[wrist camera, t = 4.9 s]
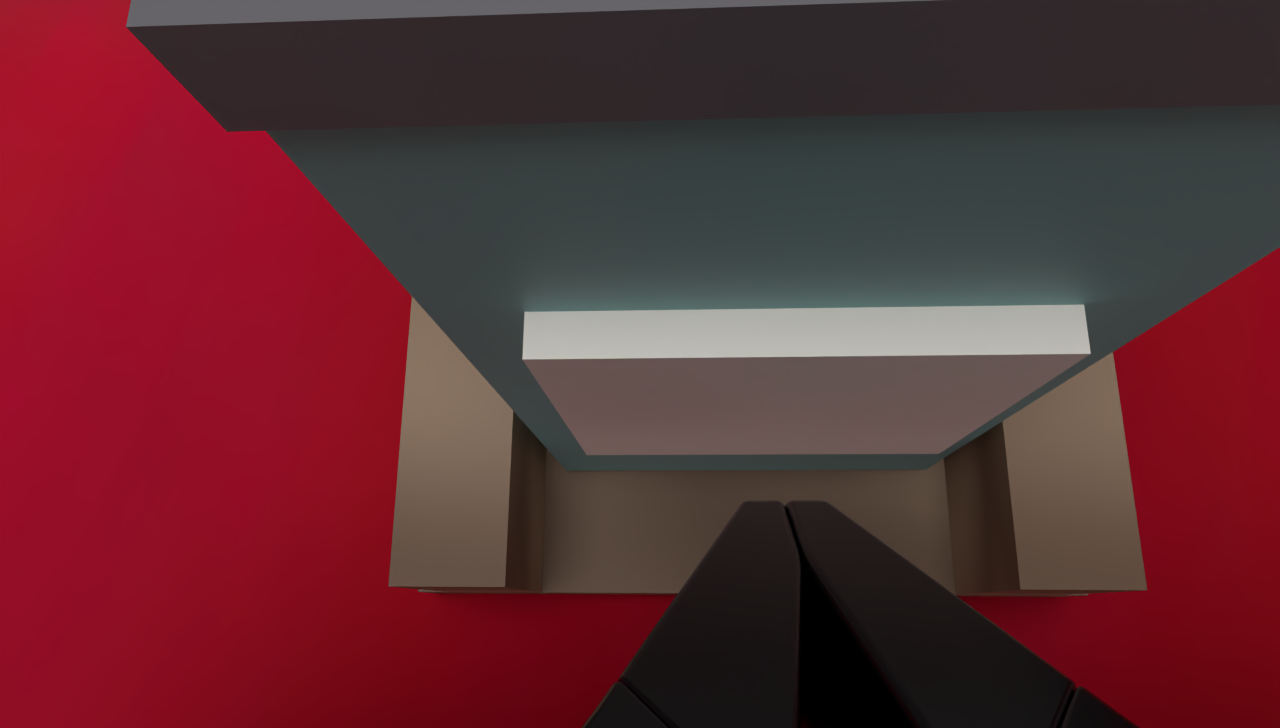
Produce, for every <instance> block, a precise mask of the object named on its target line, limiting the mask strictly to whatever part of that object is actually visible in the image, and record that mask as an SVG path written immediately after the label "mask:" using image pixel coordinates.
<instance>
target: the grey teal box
mask: <svg viewBox="0 0 1280 728" xmlns="http://www.w3.org/2000/svg"><path fill="white" fill-rule="evenodd" d="M126 27H127V28H128V29H129V30H130V31H131V32H132V33H133V34H134V35H135V37H136V38H137V39H138V40H139V41H140V42H141V43H142V44H143V45H144V46H145V47H146V48H147V49H148V50H149V51H150V52H151V53H152V54H153V55H154V56H155V57H156V58H157V59H158V60H159V61H160V62H161V63H162V64H163V66H164V67H165V68H166V69H167V70H168V71H169V72H170V73H171V74H172V75H173V76H174V77H175V78H176V79H177V80H178V81H179V82H180V83H181V84H182V85H183V86H184V87H185V88H186V89H187V90H188V91H189V92H190V93H191V95H192V96H193V97H194V98H195V99H196V100H197V101H198V102H199V103H200V104H201V105H202V106H203V107H204V108H205V109H206V110H207V111H208V112H209V113H210V114H211V115H212V116H213V117H214V118H215V119H216V120H217V121H218V122H219V124H220V125H221V126H222V127H223V128H224V129H225V130H226V131H266V132H267V133H268V134H269V135H270V136H271V137H272V138H273V140H274V141H275V142H276V143H277V144H278V145H279V146H280V147H281V149H282V150H283V151H284V152H285V153H286V154H287V155H288V157H289V158H290V159H291V160H292V161H293V162H294V163H295V164H296V166H297V167H298V168H299V169H300V170H301V171H302V172H303V173H304V175H305V176H306V177H307V178H308V179H309V180H310V181H311V183H312V184H313V185H314V186H315V187H316V188H317V189H318V190H319V192H320V193H321V194H322V195H323V196H324V197H325V198H326V199H327V201H328V202H329V203H330V204H331V205H332V206H333V207H334V209H335V210H336V211H337V212H338V213H339V214H340V215H341V216H342V218H343V219H344V220H345V221H346V222H347V223H348V224H349V225H350V227H351V228H352V229H353V230H354V231H355V232H356V233H357V235H358V236H359V237H360V238H361V239H362V240H363V241H364V242H365V244H366V245H367V246H368V247H369V248H370V249H371V250H372V251H373V253H374V254H375V255H376V256H377V257H378V258H379V259H380V261H381V262H382V263H383V264H384V265H385V266H386V267H387V268H388V270H389V271H390V272H391V273H392V274H393V275H394V276H395V277H396V279H397V280H398V281H399V282H400V283H401V284H402V285H403V287H404V288H405V289H406V290H407V291H408V292H409V293H410V294H411V296H412V297H413V298H414V299H415V300H416V301H417V302H418V303H419V305H420V306H421V307H422V308H423V309H424V310H425V311H426V313H427V314H428V315H429V316H430V317H431V318H432V319H433V320H434V322H435V323H436V324H437V325H438V326H439V327H440V328H441V329H442V331H443V332H444V333H445V334H446V335H447V336H448V337H449V339H450V340H451V341H452V342H453V343H454V344H455V345H456V346H457V348H458V349H459V350H460V351H461V352H462V353H463V354H464V355H465V357H466V358H467V359H468V360H469V361H470V362H471V363H472V365H473V366H474V367H475V368H476V369H477V370H478V371H479V372H480V374H481V375H482V376H483V377H484V378H485V379H486V380H487V381H488V383H489V384H490V385H491V386H492V387H493V388H494V389H495V391H496V392H497V393H498V394H499V395H500V396H501V397H502V398H503V400H504V401H505V402H506V403H507V404H508V405H509V406H510V407H511V409H512V410H513V411H514V412H515V413H516V414H517V415H518V417H519V418H520V419H521V420H522V421H523V422H524V423H525V424H526V426H527V427H528V428H529V429H530V430H531V431H532V432H533V433H534V435H535V436H536V437H537V438H538V439H539V440H540V441H541V443H542V444H543V445H544V446H545V447H546V448H547V449H548V450H549V452H550V453H551V454H552V455H553V456H554V457H555V458H556V459H557V461H558V462H559V463H560V464H561V465H562V466H563V467H564V469H565V470H566V471H622V470H926V469H927V468H929V467H930V466H932V465H934V464H935V463H937V462H938V461H940V460H942V459H943V458H945V457H946V456H948V455H950V454H951V453H953V452H954V451H956V450H958V449H959V448H961V447H962V446H964V445H965V444H967V443H969V442H970V441H972V440H973V439H975V438H977V437H978V436H980V435H981V434H983V433H985V432H986V431H988V430H989V429H991V428H993V427H994V426H996V425H997V424H999V423H1000V422H1002V421H1004V420H1005V419H1007V418H1008V417H1010V416H1012V415H1013V414H1015V413H1016V412H1018V411H1020V410H1021V409H1023V408H1024V407H1026V406H1028V405H1029V404H1031V403H1032V402H1034V401H1035V400H1037V399H1039V398H1040V397H1042V396H1043V395H1045V394H1047V393H1048V392H1050V391H1051V390H1053V389H1055V388H1056V387H1058V386H1059V385H1061V384H1062V383H1064V382H1066V381H1067V380H1069V379H1070V378H1072V377H1074V376H1075V375H1077V374H1078V373H1080V372H1082V371H1083V370H1085V369H1086V368H1088V367H1090V366H1091V365H1093V364H1094V363H1096V362H1097V361H1099V360H1101V359H1102V358H1104V357H1105V356H1107V355H1109V354H1110V353H1112V352H1113V351H1115V350H1117V349H1118V348H1120V347H1121V346H1123V345H1125V344H1126V343H1128V342H1129V341H1131V340H1132V339H1134V338H1136V337H1137V336H1139V335H1140V334H1142V333H1144V332H1145V331H1147V330H1148V329H1150V328H1152V327H1153V326H1155V325H1156V324H1158V323H1160V322H1161V321H1163V320H1164V319H1166V318H1167V317H1169V316H1171V315H1172V314H1174V313H1175V312H1177V311H1179V310H1180V309H1182V308H1183V307H1185V306H1187V305H1188V304H1190V303H1191V302H1193V301H1195V300H1196V299H1198V298H1199V297H1201V296H1202V295H1204V294H1206V293H1207V292H1209V291H1210V290H1212V289H1214V288H1215V287H1217V286H1218V285H1220V284H1222V283H1223V282H1225V281H1226V280H1228V279H1230V278H1231V277H1233V276H1234V275H1236V274H1237V273H1239V272H1241V271H1242V270H1244V269H1245V268H1247V267H1249V266H1250V265H1252V264H1253V263H1255V262H1257V261H1258V260H1260V259H1261V258H1263V257H1265V256H1266V255H1268V254H1269V253H1271V252H1272V251H1274V250H1276V249H1277V248H1279V247H1280V0H131V4H130V10H129V15H128V20H127V25H126Z"/></svg>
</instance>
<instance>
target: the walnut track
mask: <svg viewBox="0 0 1280 728" xmlns="http://www.w3.org/2000/svg"><path fill="white" fill-rule="evenodd" d="M748 500H757V501H766V500H776V501H780V502H782V503H783V504H784V506H785V505H786V504H787V503H788V502H789V501H793V500H823V501H826V502H828V503H830V504H831V505H833V506H834V507H836V508H837V509H838V510H840V511H841V512H842V513H844V514H845V515H846V516H848V517H849V518H851V519H852V520H853V521H855V522H856V523H857V524H859V525H860V526H861V527H863V528H864V529H866V530H867V531H868V532H870V533H871V534H872V535H874V536H875V537H877V538H878V539H879V540H881V541H882V542H883V543H885V544H886V545H887V546H889V547H890V548H892V549H893V550H894V551H896V552H897V553H898V554H900V555H901V556H902V557H904V558H905V559H907V560H908V561H909V562H911V563H912V564H913V565H915V566H916V567H917V568H919V569H920V570H922V571H923V572H924V573H926V574H927V575H928V576H930V577H931V578H933V579H934V580H935V581H937V582H938V583H939V584H941V585H942V586H943V587H945V588H946V589H948V590H949V591H950V592H952V593H953V594H954V595H956V596H1042V597H1066V596H1086V595H1088V593H1106V592H1124V591H1142V590H1147V586H1146V579H1145V572H1144V565H1143V558H1142V551H1141V544H1140V537H1139V530H1138V523H1137V516H1136V510H1135V503H1134V496H1133V489H1132V482H1131V475H1130V468H1129V461H1128V454H1127V447H1126V440H1125V433H1124V426H1123V419H1122V412H1121V405H1120V398H1119V391H1118V384H1117V377H1116V370H1115V364H1114V357H1113V352H1112V353H1110V354H1109V355H1107V356H1105V357H1104V358H1102V359H1101V360H1099V361H1097V362H1096V363H1094V364H1093V365H1091V366H1090V367H1088V368H1086V369H1085V370H1083V371H1082V372H1080V373H1078V374H1077V375H1075V376H1074V377H1072V378H1070V379H1069V380H1067V381H1066V382H1064V383H1062V384H1061V385H1059V386H1058V387H1056V388H1055V389H1053V390H1051V391H1050V392H1048V393H1047V394H1045V395H1043V396H1042V397H1040V398H1039V399H1037V400H1035V401H1034V402H1032V403H1031V404H1029V405H1028V406H1026V407H1024V408H1023V409H1021V410H1020V411H1018V412H1016V413H1015V414H1013V415H1012V416H1010V417H1008V418H1007V419H1005V420H1004V421H1002V422H1000V423H999V424H997V425H996V426H994V427H993V428H991V429H989V430H988V431H986V432H985V433H983V434H981V435H980V436H978V437H977V438H975V439H973V440H972V441H970V442H969V443H967V444H965V445H964V446H962V447H961V448H959V449H958V450H956V451H954V452H953V453H951V454H950V455H948V456H946V457H945V458H943V459H942V460H940V461H938V462H937V463H935V464H934V465H932V466H930V467H929V468H927V469H926V470H622V471H566V470H565V469H564V467H563V466H562V465H561V464H560V463H559V462H558V461H557V459H556V458H555V457H554V456H553V455H552V454H551V453H550V452H549V450H548V449H547V448H546V447H545V446H544V445H543V444H542V443H541V441H540V440H539V439H538V438H537V437H536V436H535V435H534V433H533V432H532V431H531V430H530V429H529V428H528V427H527V426H526V424H525V423H524V422H523V421H522V420H521V419H520V418H519V417H518V415H517V414H516V413H515V412H514V411H513V410H512V409H511V407H510V406H509V405H508V404H507V403H506V402H505V401H504V400H503V398H502V397H501V396H500V395H499V394H498V393H497V392H496V391H495V389H494V388H493V387H492V386H491V385H490V384H489V383H488V381H487V380H486V379H485V378H484V377H483V376H482V375H481V374H480V372H479V371H478V370H477V369H476V368H475V367H474V366H473V365H472V363H471V362H470V361H469V360H468V359H467V358H466V357H465V355H464V354H463V353H462V352H461V351H460V350H459V349H458V348H457V346H456V345H455V344H454V343H453V342H452V341H451V340H450V339H449V337H448V336H447V335H446V334H445V333H444V332H443V331H442V329H441V328H440V327H439V326H438V325H437V324H436V323H435V322H434V320H433V319H432V318H431V317H430V316H429V315H428V314H427V313H426V311H425V310H424V309H423V308H422V307H421V306H420V305H419V303H418V302H417V301H416V300H415V299H414V298H413V297H412V303H411V315H410V327H409V340H408V352H407V364H406V377H405V389H404V402H403V414H402V426H401V439H400V451H399V463H398V476H397V488H396V500H395V513H394V525H393V537H392V550H391V562H390V574H389V586H390V587H401V588H411V589H418V592H427V593H499V594H678V593H679V592H680V590H681V589H682V587H683V586H684V584H685V583H686V582H687V580H688V579H689V577H690V576H691V574H692V573H693V572H694V570H695V569H696V567H697V566H698V564H699V563H700V562H701V560H702V559H703V557H704V556H705V555H706V553H707V552H708V550H709V549H710V547H711V546H712V545H713V543H714V542H715V540H716V539H717V537H718V536H719V535H720V533H721V532H722V530H723V529H724V527H725V526H726V525H727V523H728V522H729V520H730V519H731V517H732V516H733V515H734V513H735V512H736V510H737V509H738V508H739V506H740V505H741V504H742V503H743V502H744V501H748Z"/></svg>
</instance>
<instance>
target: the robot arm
mask: <svg viewBox="0 0 1280 728" xmlns="http://www.w3.org/2000/svg"><path fill="white" fill-rule="evenodd" d="M582 728H1140V727H1138V726H1137V725H1135V724H1134V723H1133V722H1131V721H1130V720H1128V719H1127V718H1125V717H1124V716H1123V715H1121V714H1120V713H1118V712H1117V711H1116V710H1114V709H1113V708H1111V707H1110V706H1109V705H1107V704H1106V703H1105V702H1103V701H1102V700H1101V699H1099V698H1098V697H1096V696H1095V695H1094V694H1092V693H1091V692H1090V691H1088V690H1087V689H1085V688H1083V687H1078V688H1076V685H1075V683H1074V682H1073V681H1072V680H1070V679H1069V678H1068V677H1066V676H1065V675H1064V674H1062V673H1061V672H1060V671H1058V670H1057V669H1055V668H1054V667H1053V666H1051V665H1050V664H1049V663H1047V662H1046V661H1045V660H1043V659H1042V658H1040V657H1039V656H1038V655H1036V654H1035V653H1034V652H1032V651H1031V650H1030V649H1028V648H1027V647H1025V646H1024V645H1023V644H1021V643H1020V642H1019V641H1017V640H1016V639H1014V638H1013V637H1012V636H1010V635H1009V634H1008V633H1006V632H1005V631H1004V630H1002V629H1001V628H999V627H998V626H997V625H995V624H994V623H993V622H991V621H990V620H989V619H987V618H986V617H984V616H983V615H982V614H980V613H979V612H978V611H976V610H975V609H974V608H972V607H971V606H969V605H968V604H967V603H965V602H964V601H963V600H961V599H960V598H958V597H957V596H956V595H954V594H953V593H952V592H950V591H949V590H948V589H946V588H945V587H943V586H942V585H941V584H939V583H938V582H937V581H935V580H934V579H933V578H931V577H930V576H928V575H927V574H926V573H924V572H923V571H922V570H920V569H919V568H917V567H916V566H915V565H913V564H912V563H911V562H909V561H908V560H907V559H905V558H904V557H902V556H901V555H900V554H898V553H897V552H896V551H894V550H893V549H892V548H890V547H889V546H887V545H886V544H885V543H883V542H882V541H881V540H879V539H878V538H877V537H875V536H874V535H872V534H871V533H870V532H868V531H867V530H866V529H864V528H863V527H861V526H860V525H859V524H857V523H856V522H855V521H853V520H852V519H851V518H849V517H848V516H846V515H845V514H844V513H842V512H841V511H840V510H838V509H837V508H836V507H834V506H833V505H831V504H830V503H828V502H826V501H823V500H793V501H789V502H788V503H787V504H786V505H785V506H784V504H783V503H782V502H780V501H776V500H766V501H757V500H748V501H744V502H743V503H742V504H741V505H740V506H739V508H738V509H737V510H736V512H735V513H734V515H733V516H732V517H731V519H730V520H729V522H728V523H727V525H726V526H725V527H724V529H723V530H722V532H721V533H720V535H719V536H718V537H717V539H716V540H715V542H714V543H713V545H712V546H711V547H710V549H709V550H708V552H707V553H706V555H705V556H704V557H703V559H702V560H701V562H700V563H699V564H698V566H697V567H696V569H695V570H694V572H693V573H692V574H691V576H690V577H689V579H688V580H687V582H686V583H685V584H684V586H683V587H682V589H681V590H680V592H679V593H678V594H677V596H676V597H675V599H674V600H673V602H672V603H671V604H670V606H669V607H668V609H667V610H666V611H665V613H664V614H663V616H662V617H661V619H660V620H659V621H658V623H657V624H656V626H655V627H654V629H653V630H652V631H651V633H650V634H649V636H648V637H647V639H646V640H645V641H644V643H643V644H642V646H641V647H640V649H639V650H638V651H637V653H636V654H635V656H634V657H633V659H632V660H631V661H630V663H629V664H628V666H627V667H626V668H625V670H624V671H623V673H622V674H621V676H620V677H619V678H618V682H616V683H614V684H613V685H612V686H611V688H610V689H609V691H608V692H607V693H606V695H605V696H604V698H603V699H602V701H601V702H600V703H599V705H598V706H597V708H596V709H595V711H594V712H593V713H592V715H591V716H590V717H589V719H588V720H587V721H586V722H585V724H584V725H583V726H582Z"/></svg>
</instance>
